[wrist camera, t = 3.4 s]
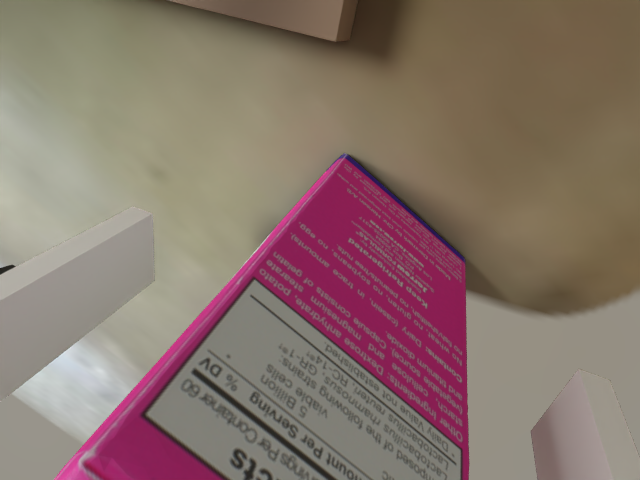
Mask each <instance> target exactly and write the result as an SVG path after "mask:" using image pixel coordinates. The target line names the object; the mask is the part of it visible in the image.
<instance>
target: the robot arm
mask: <svg viewBox="0 0 640 480" xmlns="http://www.w3.org/2000/svg"><path fill="white" fill-rule="evenodd" d="M154 281H155V275H154V236H153V213H150V212H148V211H145V210H142V209H139V208H137V207H134V206H132V207H130V208H128V209H126V210H125V211H123V212H121V213H119V214H117V215H115V216H113V217H111V218H109V219H107V220H105V221H103V222H101V223H99V224H97V225H96V226H94V227H92V228H90V229H88V230H86V231H84V232H82V233H80V234H78V235H76V236H74V237H72V238H70V239H68V240H66V241H65V242H63V243H61V244H59V245H57V246H55V247H53V248H51V249H49V250H47V251H45V252H43V253H41V254H39V255H37V256H36V257H34V258H32V259H30V260H28V261H26V262H24V263H22V264H20V265H18V266H14V265H9V266H6V267H2V268H0V402H1V401H2V400H3V399H5V398H6V397H7V396H9V395H10V394H11V393H12V392H14V391H15V390H16V389H17V388H19V387H20V386H21V385H23V384H24V383H25V382H26V381H28V380H29V379H30V378H31V377H33V376H34V375H35V374H37V373H38V372H39V371H40V370H42V369H43V368H44V367H45V366H47V365H48V364H49V363H51V362H52V361H53V360H54V359H56V358H57V357H58V356H59V355H61V354H62V353H63V352H65V351H66V350H67V349H68V348H70V347H71V346H72V345H73V344H75V343H76V342H77V341H79V340H80V339H81V338H82V337H84V336H85V335H86V334H87V333H89V332H90V331H91V330H93V329H94V328H95V327H96V326H98V325H99V324H100V323H101V322H103V321H104V320H105V319H107V318H108V317H109V316H110V315H112V314H113V313H114V312H115V311H117V310H118V309H119V308H121V307H122V306H123V305H124V304H126V303H127V302H128V301H129V300H131V299H132V298H133V297H134V296H136V295H137V294H138V293H140V292H141V291H142V290H143V289H145V288H146V287H147V286H148V285H150V284H151V283H152V282H154ZM531 436H532V444H533V451H534V458H535V464H536V472H537V479H538V480H640V456H639V454H638V451H637V448H636V446H635V443H634V441H633V438H632V436H631V433H630V431H629V428H628V425H627V423H626V420H625V418H624V415H623V413H622V410H621V407H620V405H619V402H618V400H617V397H616V395H615V392H614V390H613V387H612V384H611V382H610V380H609V379H606V378H603V377H600V376H598V375H595V374H592V373H589V372H587V371H584V370H581V369H578V370H577V372H576V373H575V374H574V375H573V377H572V378H571V380H570V381H569V382H568V383H567V385H566V386H565V387H564V389H563V390H562V391H561V392H560V394H559V395H558V397H557V398H556V399H555V400H554V402H553V403H552V404H551V406H550V407H549V408H548V409H547V411H546V412H545V413H544V415H543V416H542V417H541V418H540V420H539V421H538V422H537V424H536V425H535V426H534V428H533V429H532V430H531Z"/></svg>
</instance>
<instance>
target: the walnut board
mask: <svg viewBox="0 0 640 480" xmlns="http://www.w3.org/2000/svg"><path fill="white" fill-rule="evenodd" d="M168 1H172V2H176V3H180V4H184V5H188V6H192V7H196V8H200V9H205V10H209V11H213V12H217V13H221V14H225V15H229V16H233V17H237V18H241V19H245V20H249V21H253V22H257V23H261V24H266V25H270V26H274V27H278V28H282V29H286V30H290V31H294V32H298V33H302V34H306V35H310V36H314V37H318V38H322V39H327V40H331V41H335V42H338V41H346V40H350V37H351V32H352V28H353V23H354V18H355V13H356V8H357V3H358V0H168Z"/></svg>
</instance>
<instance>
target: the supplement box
mask: <svg viewBox="0 0 640 480" xmlns="http://www.w3.org/2000/svg"><path fill="white" fill-rule="evenodd" d="M465 283H466V279H465V259H464V257H463V256H462V255H461V254H459V253H458V252H457V251H456V250H455V249H454V248H453V247H451V246H450V245H449V244H448V243H447V242H446V241H445V240H444V239H443V238H441V237H440V236H439V235H438V234H437V233H436V232H435V231H434V230H432V229H431V228H430V227H429V226H428V225H427V224H426V223H425V222H424V221H422V220H421V219H420V218H419V217H418V216H417V215H416V214H415V213H413V212H412V211H411V210H410V209H409V208H408V207H407V206H406V205H404V204H403V203H402V202H401V201H400V200H399V199H398V198H397V197H396V196H395V195H393V194H392V193H391V192H390V191H389V190H388V189H387V188H385V187H384V186H383V185H382V184H381V183H380V182H379V181H378V180H376V179H375V178H374V177H373V176H372V175H371V174H370V173H368V172H367V171H366V170H365V169H364V168H363V167H362V166H361V165H359V164H358V163H357V162H356V161H355V160H353V159H352V158H351V157H350V156H349V155H348V154H343V155H342V156H340V157H339V158H338V159H337V160H336V161H335V162H334V163H333V164H332V165H331V166H330V167H329V168H328V170H327V171H326V172H325V173H324V174H323V175H322V176H321V177H320V178H319V179H318V181H317V182H316V183H315V184H314V185H313V186H312V187H311V188H310V190H309V191H308V192H307V193H306V194H305V195H304V196H303V197H302V198H301V200H300V201H299V202H298V203H297V204H296V205H295V206H294V207H293V209H292V210H291V211H290V212H289V213H288V214H287V215H286V216H285V218H284V219H283V220H282V221H281V222H280V223H279V224H278V225H277V226H276V228H275V229H274V230H273V231H272V232H271V233H270V234H269V236H268V237H267V238H266V239H265V240H264V241H263V242H262V244H261V245H260V246H259V247H258V248H257V249H256V251H255V252H254V253H253V254H252V255H251V256H250V258H249V259H248V260H247V261H246V262H245V263H244V265H243V266H242V267H241V268H240V269H239V270H238V272H237V273H236V274H235V275H234V276H233V277H232V279H231V280H230V281H229V282H228V283H227V284H226V286H225V287H224V288H223V289H222V290H221V291H220V292H219V293H218V295H217V296H216V297H215V298H214V299H213V300H212V301H211V302H210V303H209V305H208V306H207V307H206V308H205V309H204V310H203V311H202V312H201V314H200V315H199V316H198V317H197V318H196V319H195V320H194V321H193V323H192V324H191V325H190V326H189V327H188V328H187V329H186V330H185V332H184V333H183V334H182V335H181V336H180V337H179V338H178V339H177V341H176V342H175V343H174V344H173V345H172V346H171V347H170V349H169V350H168V351H167V352H166V353H165V354H164V355H163V356H162V357H161V359H160V360H159V361H158V362H157V363H156V364H155V365H154V366H153V368H152V369H151V370H150V371H149V372H148V373H147V374H146V375H145V376H144V378H143V379H142V380H141V381H140V382H139V383H138V384H137V385H136V387H135V388H134V389H133V390H132V391H131V392H130V393H129V394H128V395H127V397H126V398H125V399H124V400H123V401H122V402H121V403H120V404H119V406H118V407H117V408H116V409H115V410H114V411H113V412H112V413H111V415H110V416H109V417H108V418H107V419H106V420H105V421H104V422H103V424H102V425H101V426H100V427H99V428H98V429H97V430H96V431H95V433H94V434H93V435H92V436H91V437H90V438H89V439H88V440H87V442H86V443H85V444H84V445H83V446H82V447H81V448H80V449H79V451H78V452H77V453H76V454H75V455H74V456H73V457H72V458H71V460H70V461H69V462H68V463H67V464H66V465H65V466H64V467H63V469H62V470H61V471H60V473H59V474H58V475H57V477H56V478H55V479H54V480H468V479H469V447H468V415H467V412H468V405H467V364H466V363H467V352H466V351H467V350H466V284H465Z"/></svg>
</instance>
